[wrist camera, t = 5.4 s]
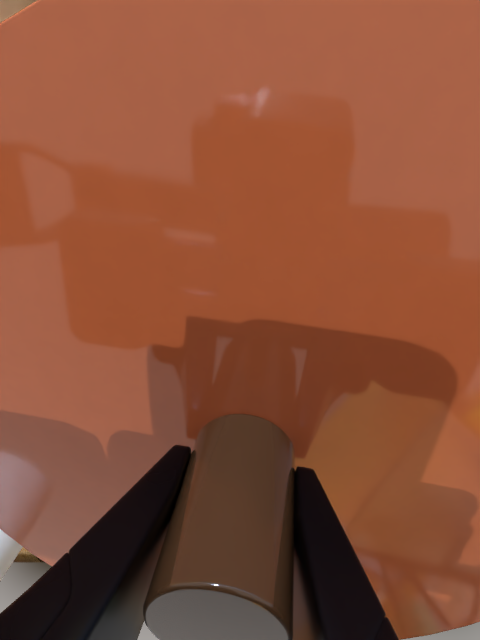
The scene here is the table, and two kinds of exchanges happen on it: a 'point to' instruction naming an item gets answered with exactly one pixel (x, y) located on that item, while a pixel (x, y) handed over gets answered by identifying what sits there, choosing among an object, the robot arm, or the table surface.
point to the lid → (246, 292)
